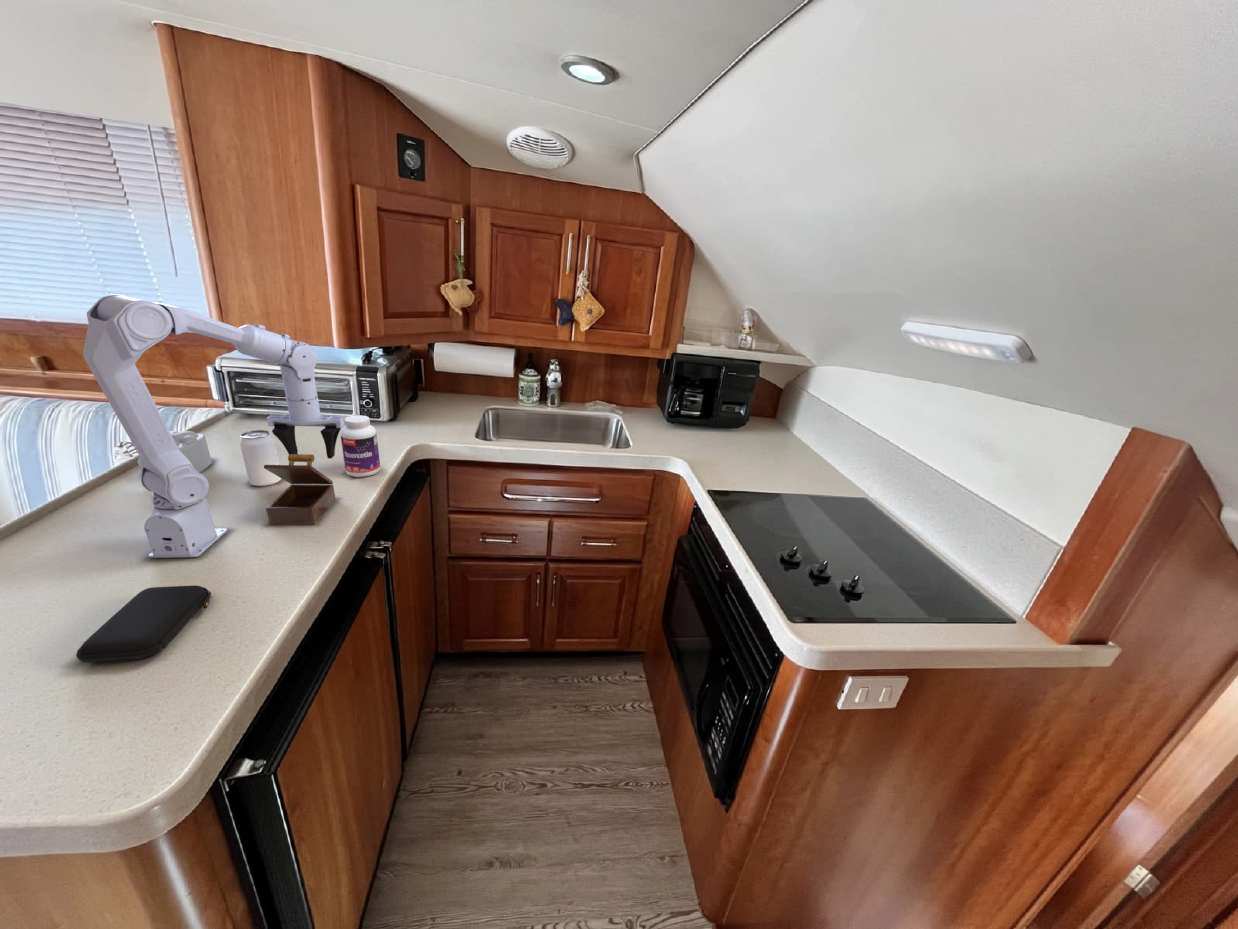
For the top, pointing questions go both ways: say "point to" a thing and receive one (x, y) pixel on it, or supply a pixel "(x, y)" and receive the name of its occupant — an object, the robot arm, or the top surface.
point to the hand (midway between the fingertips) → (312, 456)
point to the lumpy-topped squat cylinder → (193, 448)
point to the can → (259, 457)
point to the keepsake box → (301, 504)
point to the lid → (299, 471)
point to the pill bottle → (360, 447)
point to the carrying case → (144, 624)
